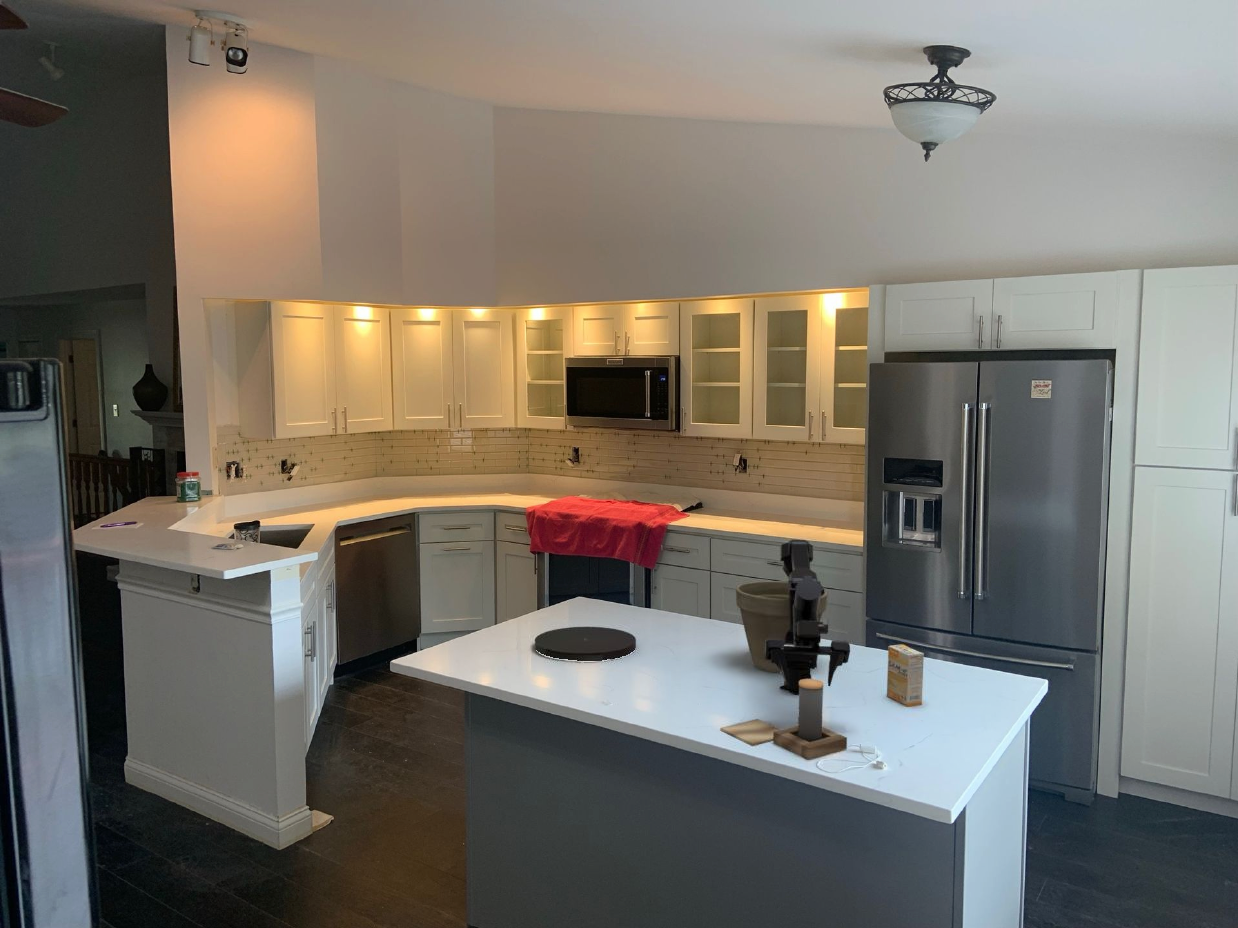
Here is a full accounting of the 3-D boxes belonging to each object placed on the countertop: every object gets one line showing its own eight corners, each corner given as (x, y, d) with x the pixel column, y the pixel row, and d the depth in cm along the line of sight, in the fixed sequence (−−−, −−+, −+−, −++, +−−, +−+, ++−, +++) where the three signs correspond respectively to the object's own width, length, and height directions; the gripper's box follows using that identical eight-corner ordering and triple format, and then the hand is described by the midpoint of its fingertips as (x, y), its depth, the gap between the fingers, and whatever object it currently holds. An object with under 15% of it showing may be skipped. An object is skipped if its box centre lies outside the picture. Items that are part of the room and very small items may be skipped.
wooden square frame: (773, 742, 203) (773, 731, 203) (809, 732, 209) (810, 721, 208) (809, 759, 194) (809, 747, 193) (846, 748, 200) (846, 737, 199)
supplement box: (885, 696, 234) (887, 645, 233) (901, 694, 236) (903, 643, 235) (906, 707, 226) (908, 654, 225) (922, 704, 228) (924, 652, 227)
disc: (520, 641, 283) (520, 631, 283) (610, 631, 296) (610, 622, 296) (556, 668, 256) (556, 658, 256) (653, 656, 269) (653, 646, 269)
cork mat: (720, 729, 210) (720, 727, 210) (757, 720, 216) (757, 718, 216) (752, 745, 201) (752, 743, 201) (790, 735, 207) (790, 733, 207)
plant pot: (820, 654, 270) (822, 580, 269) (831, 680, 246) (832, 599, 244) (734, 651, 273) (734, 578, 271) (736, 677, 248) (736, 597, 247)
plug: (792, 744, 202) (793, 681, 201) (809, 739, 205) (811, 677, 204) (809, 752, 198) (810, 687, 196) (827, 747, 200) (828, 683, 199)
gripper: (766, 603, 212) (767, 665, 202) (850, 606, 210) (855, 668, 200) (764, 628, 221) (765, 689, 211) (845, 631, 218) (849, 692, 208)
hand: (808, 684), depth 207 cm, fingers open, 9 cm apart
